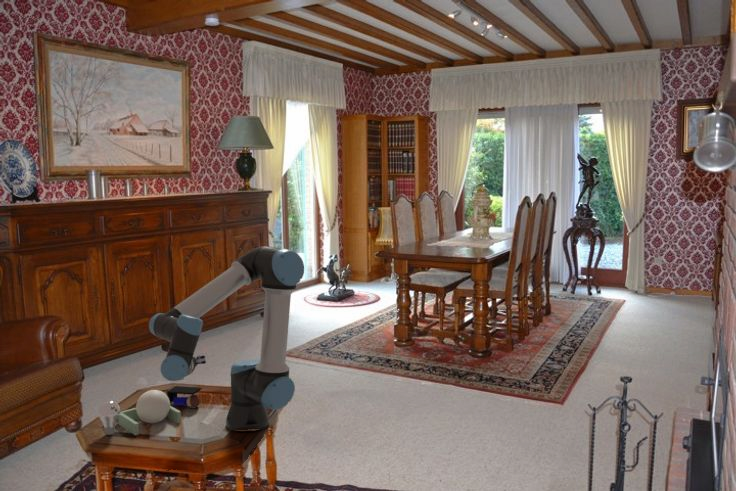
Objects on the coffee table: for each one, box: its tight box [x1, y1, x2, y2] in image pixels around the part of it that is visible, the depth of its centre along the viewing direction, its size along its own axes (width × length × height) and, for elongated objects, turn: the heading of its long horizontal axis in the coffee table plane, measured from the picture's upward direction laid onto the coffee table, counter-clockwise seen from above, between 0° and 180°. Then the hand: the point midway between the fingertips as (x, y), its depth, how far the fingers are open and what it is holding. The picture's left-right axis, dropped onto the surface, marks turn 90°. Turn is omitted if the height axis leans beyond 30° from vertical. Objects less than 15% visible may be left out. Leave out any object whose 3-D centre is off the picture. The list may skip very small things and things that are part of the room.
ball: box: [135, 389, 171, 424], centre depth 222 cm, size 12×12×12 cm
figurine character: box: [164, 385, 203, 409], centre depth 238 cm, size 7×8×15 cm
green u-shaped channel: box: [116, 406, 182, 436], centre depth 221 cm, size 14×17×4 cm
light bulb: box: [97, 399, 121, 436], centre depth 210 cm, size 7×7×12 cm
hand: (193, 360), depth 218 cm, fingers closed
